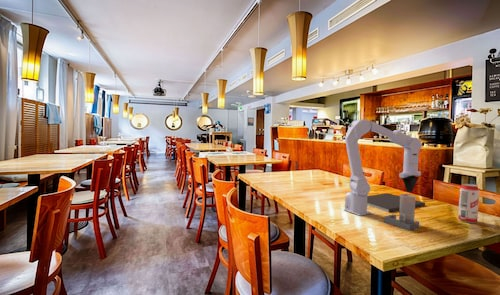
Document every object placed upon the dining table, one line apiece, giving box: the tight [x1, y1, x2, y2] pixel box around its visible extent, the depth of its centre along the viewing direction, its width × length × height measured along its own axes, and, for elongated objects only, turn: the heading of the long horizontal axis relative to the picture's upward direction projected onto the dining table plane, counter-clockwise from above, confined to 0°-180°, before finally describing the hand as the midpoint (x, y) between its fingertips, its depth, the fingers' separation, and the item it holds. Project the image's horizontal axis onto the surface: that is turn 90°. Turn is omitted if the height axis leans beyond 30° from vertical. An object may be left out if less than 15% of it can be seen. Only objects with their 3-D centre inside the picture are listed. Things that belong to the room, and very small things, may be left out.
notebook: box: [367, 192, 426, 213], centre depth 133 cm, size 22×2×28 cm
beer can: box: [457, 183, 480, 224], centre depth 106 cm, size 6×6×16 cm
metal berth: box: [383, 213, 420, 232], centre depth 101 cm, size 10×7×2 cm, turn 29°
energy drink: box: [398, 193, 416, 223], centre depth 102 cm, size 5×5×12 cm
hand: (409, 191), depth 115 cm, fingers closed
